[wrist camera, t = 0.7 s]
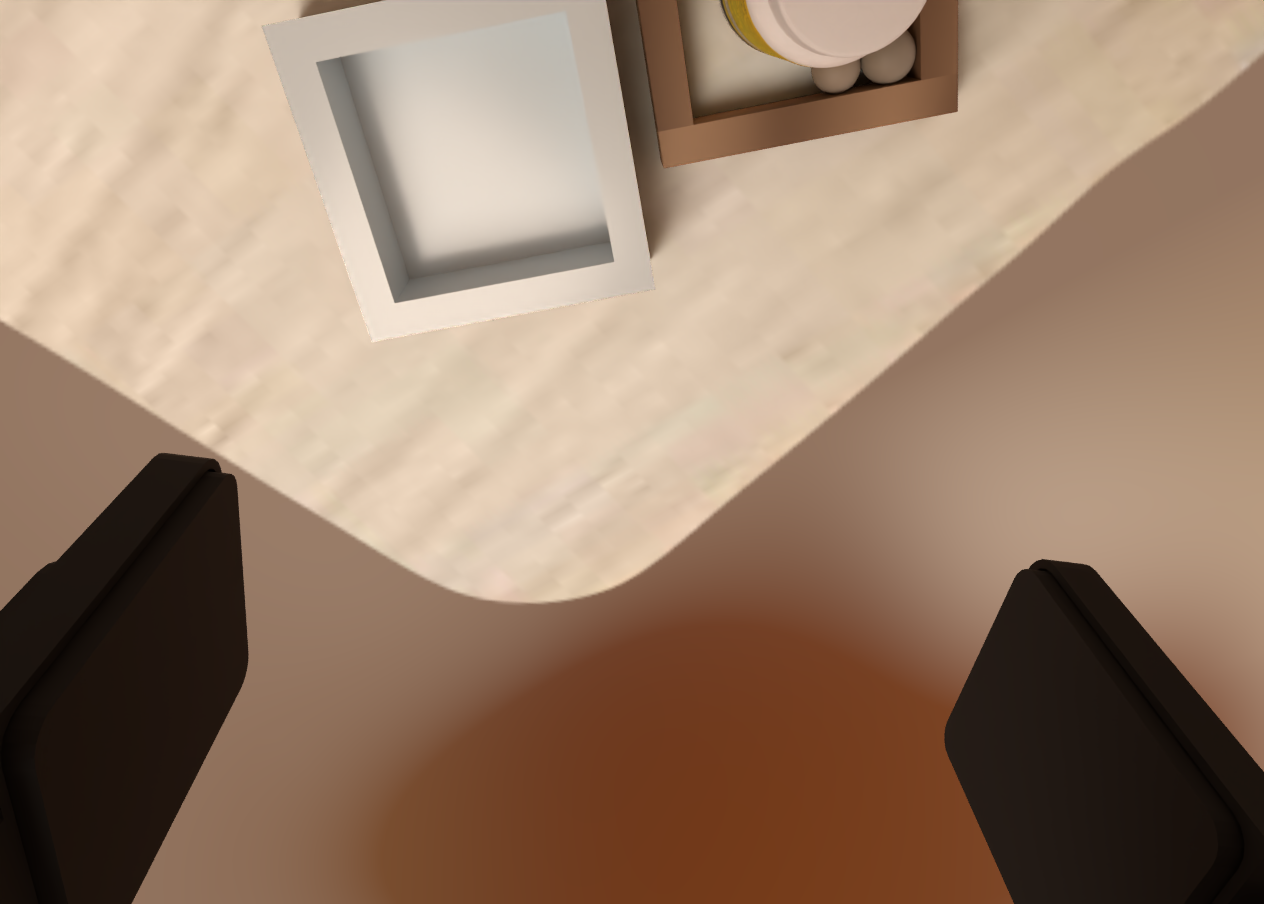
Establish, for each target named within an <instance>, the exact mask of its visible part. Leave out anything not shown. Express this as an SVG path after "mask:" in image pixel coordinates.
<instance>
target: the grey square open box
mask: <svg viewBox="0 0 1264 904" xmlns="http://www.w3.org/2000/svg"><path fill="white" fill-rule="evenodd" d="M262 29H263V32H264V34H265V37H266V40H267V43H268V46H269V49H270V52H271V55H272V57H273V60H274V63H275V66H276V69H277V72H278V75H279V77H280V80H281V83H282V86H283V89H284V92H285V95H286V98H287V100H288V103H289V106H290V109H291V112H292V115H293V118H294V120H295V123H296V126H297V129H298V132H299V135H300V138H301V141H302V143H303V146H304V149H305V152H306V155H307V158H308V161H309V163H310V166H311V169H312V172H313V175H314V178H315V181H316V184H317V186H318V189H319V192H320V195H321V198H322V201H323V204H324V206H325V209H326V212H327V215H328V218H329V221H330V224H331V227H332V229H333V232H334V235H335V238H336V241H337V244H338V247H339V249H340V252H341V255H342V258H343V261H344V264H345V267H346V270H347V272H348V275H349V278H350V281H351V284H352V287H353V290H354V292H355V295H356V298H357V301H358V304H359V307H360V310H361V313H362V315H363V318H364V321H365V324H366V327H367V330H368V333H369V335H370V338H371V341H372V342H376V341H382V340H387V339H392V338H398V337H403V336H409V335H414V334H419V333H425V332H430V331H435V330H441V329H446V328H452V327H457V326H462V325H468V324H473V323H478V322H484V321H489V320H495V319H500V318H505V317H511V316H516V315H521V314H527V313H532V312H537V311H543V310H548V309H554V308H559V307H564V306H570V305H575V304H580V303H586V302H591V301H597V300H602V299H607V298H613V297H618V296H623V295H629V294H634V293H639V292H645V291H650V290H656V289H655V283H654V278H653V272H652V266H651V260H650V254H649V249H648V243H647V237H646V231H645V225H644V220H643V214H642V208H641V202H640V196H639V191H638V185H637V179H636V173H635V167H634V162H633V156H632V150H631V144H630V138H629V132H628V127H627V121H626V115H625V109H624V103H623V98H622V92H621V86H620V80H619V74H618V69H617V63H616V57H615V51H614V45H613V40H612V34H611V28H610V22H609V16H608V11H607V5H606V0H384V1H379V2H374V3H370V4H365V5H360V6H355V7H350V8H345V9H341V10H336V11H331V12H326V13H321V14H316V15H312V16H307V17H302V18H297V19H292V20H288V21H283V22H278V23H273V24H268V25H263V26H262Z"/></svg>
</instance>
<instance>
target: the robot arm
mask: <svg viewBox="0 0 1264 904" xmlns="http://www.w3.org/2000/svg"><path fill="white" fill-rule="evenodd" d="M247 665H248V640H247V626H246V610H245V595H244V580H243V566H242V550H241V536H240V521H239V506H238V491H237V482H236V479H235V477H234V476H233V475H232V474H226V473H222V472H221V468H220V465H219V463H218V462H217V461H216V460H215V459H209V458H202V457H193V456H185V455H176V454H168V453H160V454H158V455H157V456H155V457H154V458H153V459H152V460H151V461H150V462H149V463H148V464H147V465H146V466H145V467H144V468H143V469H142V470H141V472H140V473H139V474H138V475H137V476H136V477H135V478H134V479H133V480H132V481H131V482H130V483H129V484H128V486H127V487H126V488H125V489H124V490H123V491H122V492H121V493H120V494H119V495H118V496H117V497H116V498H115V499H114V500H113V501H112V503H111V504H110V505H109V506H108V507H107V508H106V509H105V510H104V511H103V512H102V513H101V514H100V515H99V517H98V518H97V519H96V520H95V521H94V522H93V523H92V524H91V525H90V526H89V527H88V528H87V529H86V530H85V531H84V532H83V534H82V535H81V536H80V537H79V538H78V539H77V540H76V541H75V542H74V543H73V544H72V545H71V546H70V548H69V549H68V550H67V551H66V552H65V553H64V554H63V555H62V556H61V557H60V558H59V559H58V560H57V561H56V562H53V563H49V564H47V565H46V566H45V567H44V568H42V569H41V570H40V571H38V572H37V573H36V574H35V575H34V576H33V577H32V578H31V579H30V581H28V583H27V584H26V585H25V586H24V587H23V588H22V589H21V590H20V591H19V592H18V593H17V594H16V595H15V596H14V597H13V598H12V599H11V600H10V602H9V603H8V604H7V605H6V606H5V607H4V608H3V609H2V610H1V611H0V904H131V903H132V902H133V900H134V898H135V896H136V894H137V892H138V890H139V888H140V886H141V884H142V882H143V880H144V878H145V876H146V874H147V872H148V870H149V868H150V866H151V864H152V862H153V860H154V858H155V856H156V854H157V852H158V850H159V849H160V847H161V845H162V842H163V841H164V839H165V837H166V835H167V833H168V831H169V829H170V827H171V825H172V823H173V821H174V819H175V817H176V815H177V813H178V811H179V809H180V807H181V805H182V803H183V801H184V799H185V797H186V795H187V793H188V791H189V789H190V787H191V786H192V784H193V782H194V780H195V778H196V776H197V774H198V772H199V770H200V768H201V766H202V764H203V762H204V760H205V758H206V756H207V754H208V752H209V750H210V748H211V746H212V744H213V742H214V740H215V738H216V736H217V734H218V732H219V730H220V728H221V726H222V724H223V722H224V721H225V719H226V716H227V714H228V713H229V711H230V709H231V707H232V705H233V703H234V701H235V698H236V697H237V695H238V693H239V691H240V689H241V687H242V684H243V682H244V679H245V675H246V671H247ZM945 747H946V751H947V754H948V757H949V759H950V761H951V763H952V766H953V768H954V770H955V772H956V774H957V777H958V779H959V781H960V783H961V786H962V788H963V790H964V792H965V794H966V797H967V799H968V801H969V804H970V806H971V808H972V810H973V812H974V815H975V817H976V819H977V821H978V824H979V826H980V828H981V830H982V833H983V835H984V837H985V839H986V842H987V843H988V846H989V848H990V850H991V853H992V855H993V857H994V859H995V862H996V864H997V866H998V868H999V871H1000V873H1001V875H1002V877H1003V880H1004V882H1005V884H1006V886H1007V889H1008V891H1009V893H1010V895H1011V897H1012V900H1013V902H1014V904H1264V772H1263V770H1262V769H1261V768H1260V767H1259V766H1258V764H1257V763H1256V762H1255V761H1254V760H1253V758H1252V757H1251V756H1250V755H1249V754H1248V753H1247V751H1246V750H1245V749H1244V748H1243V747H1242V745H1241V744H1240V743H1239V742H1238V741H1237V739H1236V738H1235V737H1234V736H1233V735H1232V734H1231V732H1230V731H1229V730H1228V729H1227V727H1226V726H1225V725H1224V724H1223V723H1222V721H1221V720H1220V719H1219V718H1218V717H1217V715H1216V714H1215V713H1214V712H1213V711H1212V709H1211V708H1210V707H1209V706H1208V705H1207V703H1206V702H1205V701H1204V700H1203V699H1202V698H1201V696H1200V695H1199V694H1198V693H1197V692H1196V690H1195V689H1194V688H1193V687H1192V686H1191V684H1190V683H1189V682H1188V681H1187V680H1186V678H1185V677H1184V676H1183V675H1182V674H1181V672H1180V671H1179V670H1178V669H1177V668H1176V666H1175V665H1174V664H1173V663H1172V662H1171V661H1170V659H1169V658H1168V657H1167V656H1166V655H1165V653H1164V652H1163V651H1162V650H1161V649H1160V647H1159V646H1158V645H1157V644H1156V642H1154V640H1153V639H1152V638H1151V636H1150V635H1149V634H1148V633H1147V632H1146V630H1145V629H1144V628H1143V627H1142V626H1141V624H1140V623H1139V622H1138V621H1137V620H1136V618H1135V617H1134V616H1133V615H1132V614H1131V613H1130V611H1129V610H1128V609H1127V608H1126V607H1125V605H1124V604H1123V603H1122V602H1121V601H1120V599H1119V598H1118V597H1117V596H1116V595H1115V593H1114V592H1113V591H1112V590H1111V589H1110V587H1109V586H1108V585H1107V584H1106V583H1105V581H1104V580H1103V579H1102V578H1101V577H1100V575H1099V574H1098V573H1097V572H1096V571H1095V570H1094V569H1093V568H1092V567H1090V566H1088V565H1084V564H1078V563H1070V562H1062V561H1054V560H1045V559H1042V560H1038V561H1036V562H1035V563H1033V564H1032V565H1031V566H1030V568H1029V569H1024V570H1021V571H1020V572H1019V573H1018V574H1017V575H1016V577H1015V578H1014V580H1013V583H1012V585H1011V587H1010V589H1009V591H1008V593H1007V596H1006V597H1005V600H1004V602H1003V604H1002V606H1001V608H1000V610H999V612H998V615H997V617H996V619H995V621H994V623H993V625H992V628H991V629H990V632H989V634H988V636H987V638H986V640H985V642H984V644H983V647H982V649H981V651H980V653H979V655H978V657H977V659H976V661H975V664H974V666H973V668H972V670H971V673H970V674H969V676H968V679H967V681H966V683H965V685H964V687H963V689H962V692H961V694H960V696H959V698H958V700H957V702H956V704H955V707H954V709H953V711H952V713H951V715H950V717H949V719H948V721H947V724H946V727H945Z"/></svg>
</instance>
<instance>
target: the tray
mask: <svg viewBox="0 0 1264 904" xmlns="http://www.w3.org/2000/svg"><path fill="white" fill-rule="evenodd" d="M636 5H637V11H638V18H639V24H640V31H641V37H642V43H643V50H644V56H645V62H646V69H647V75H648V81H649V88H650V94H651V100H652V107H653V113H654V120H655V126H656V132H657V139H658V145H659V151H660V158H661V162H662V165H663V167H664V168H669V167H674V166H679V165H684V164H689V163H695V162H700V161H705V160H710V159H715V158H720V157H726V156H731V155H736V154H741V153H746V152H751V151H757V150H762V149H767V148H772V147H777V146H782V145H788V144H793V143H798V142H803V141H808V140H813V139H819V138H824V137H829V136H834V135H839V134H844V133H850V132H855V131H860V130H865V129H870V128H875V127H881V126H886V125H891V124H896V123H901V122H906V121H912V120H917V119H922V118H927V117H932V116H937V115H943V114H948V113H953V112H958V0H927V1H926V3H925V5H924V7H923V8H922V10H921V12H920V13H919V15H918V16H917V18H916V19H915V21H914V22H913V23H912V24H911V25H910V26H909V28H908V29H907V30H906V31H905V32H904V33H903V34H902V35H901V36H900V37H898V38H897V39H896V40H894V41H893V42H892V43H890V44H889V45H887V46H885V47H884V48H882V49H880V50H878V51H876V52H873V53H870V54H867V55H865V56H864V57H862V58H860V59H858V60H856V61H853V62H851V63H848V64H845V65H841V66H837V67H830V68H814V67H812V68H811V72H812V78H813V80H814V83H815V84H816V86H817V87H818V88H819V89H820V90H822V91H823V92H824V93H819V94H814V95H809V96H804V97H798V98H793V99H788V100H783V101H778V102H773V103H768V104H763V105H758V106H753V107H748V108H742V109H737V110H732V111H727V112H722V113H717V114H712V115H707V116H702V117H697V118H693V117H692V110H691V102H690V95H689V88H688V80H687V73H686V66H685V59H684V51H683V44H682V37H681V29H680V22H679V15H678V7H677V0H636ZM860 68H861V69H862V71H863V73H864V74H865V76H866V77H867V78H868V79H869V80H871V81H872V82H874V83H870V84H865V85H860V86H854V87H851V86H853V84H854V83H855V82H856V80H857V78H858V76H859V73H860ZM906 74H907V76H905V75H906ZM904 76H905V77H904Z"/></svg>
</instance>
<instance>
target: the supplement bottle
mask: <svg viewBox="0 0 1264 904" xmlns="http://www.w3.org/2000/svg"><path fill="white" fill-rule="evenodd" d="M926 1H927V0H719V2H720V6H721V9H722V12H723V14H724V17H725V19H726V21H727V22H728V24H729V26H730V27H731V29H732V30H733V31H734V32H735V33H736V35H737V36H738V37H739V38H740V39H741V40H742V41H744V42H745V43H746V44H748V45H749V46H751V47H752V48H754V49H756V50H758V51H760V52H763V53H766V54H768V55H771V56H774V57H778V58H781V59H784V60H787V61H790V62H792V63H795V64H798V65H801V66H806V67H814V68H830V67H837V66H841V65H845V64H848V63H851V62H853V61H856V60H858V59H860V58H862V57H864V56H865V55H867V54H870V53H873V52H876V51H878V50H880V49H882V48H884V47H885V46H887V45H889V44H890V43H892V42H893V41H894V40H896V39H897V38H898V37H900V36H901V35H902V34H903V33H904V32H905V31H906V30H907V29H908V28H909V26H910V25H911V24H912V23H913V22H914V21H915V19H916V18H917V16H918V15H919V13H920V12H921V10H922V8H923V7H924V5H925V3H926Z"/></svg>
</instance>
